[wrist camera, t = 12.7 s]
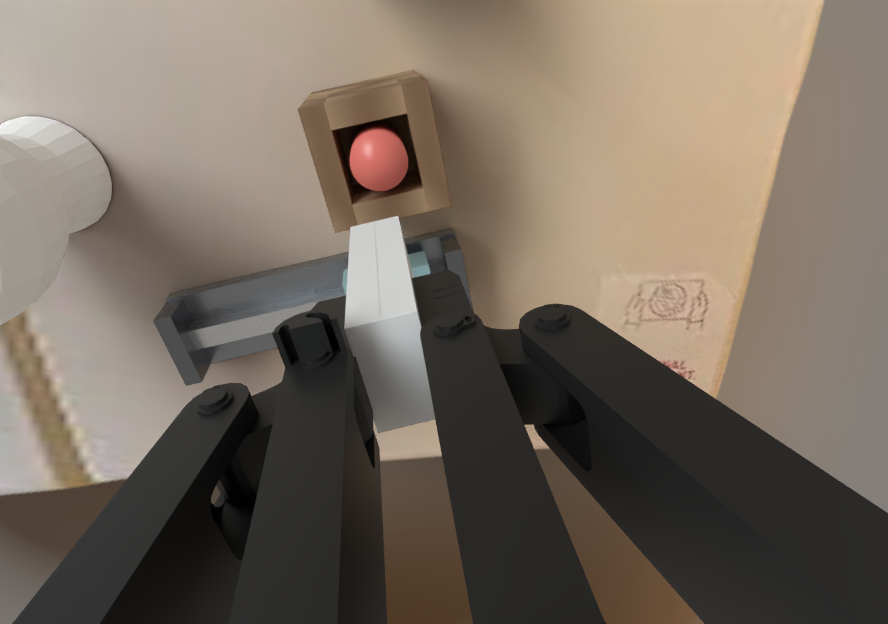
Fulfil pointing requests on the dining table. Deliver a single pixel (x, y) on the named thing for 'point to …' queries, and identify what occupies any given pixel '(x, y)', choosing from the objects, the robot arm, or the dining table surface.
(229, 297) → the rail track
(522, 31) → the dining table surface
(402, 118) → the open wooden box
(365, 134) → the button
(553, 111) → the dining table surface
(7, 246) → the cup
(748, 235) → the dining table surface
